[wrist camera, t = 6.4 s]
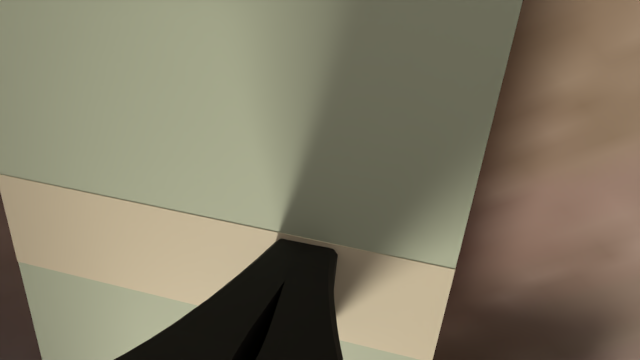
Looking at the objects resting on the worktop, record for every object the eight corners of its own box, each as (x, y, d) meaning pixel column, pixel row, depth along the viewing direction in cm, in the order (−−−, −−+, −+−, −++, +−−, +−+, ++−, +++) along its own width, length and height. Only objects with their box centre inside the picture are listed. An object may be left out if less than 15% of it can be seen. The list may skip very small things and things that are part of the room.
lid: (395, 491, 14) (391, 522, 13) (74, 397, 16) (56, 420, 15) (535, -81, 7) (544, -82, 7) (-38, -128, 9) (-79, -134, 9)
